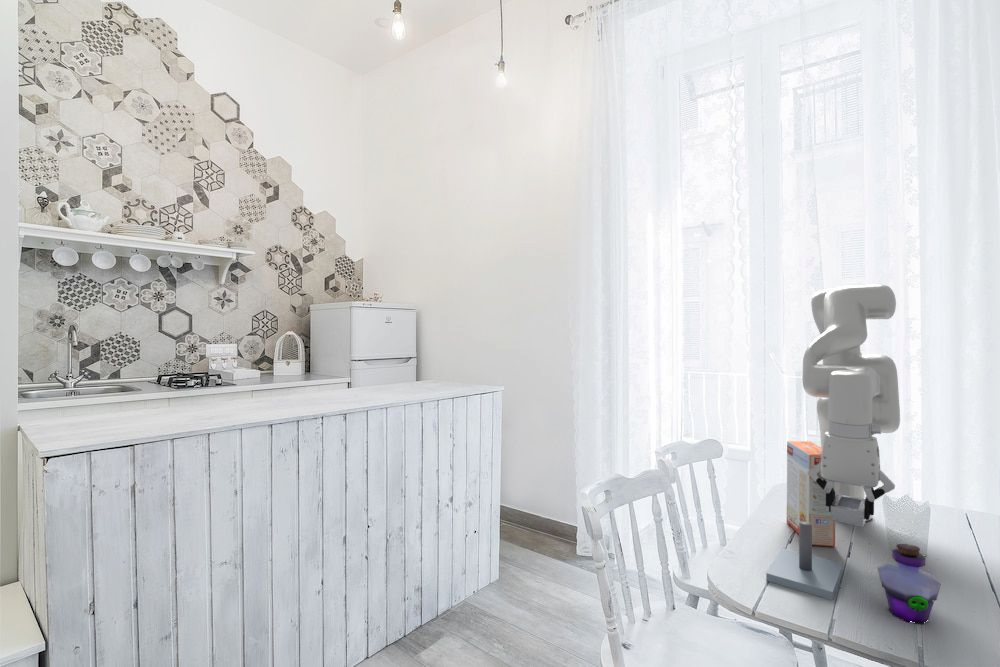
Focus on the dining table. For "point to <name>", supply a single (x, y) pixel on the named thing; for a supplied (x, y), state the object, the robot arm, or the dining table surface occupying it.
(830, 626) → the dining table surface
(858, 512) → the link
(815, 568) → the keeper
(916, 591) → the potion bottle
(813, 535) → the cracker box
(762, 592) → the dining table surface
